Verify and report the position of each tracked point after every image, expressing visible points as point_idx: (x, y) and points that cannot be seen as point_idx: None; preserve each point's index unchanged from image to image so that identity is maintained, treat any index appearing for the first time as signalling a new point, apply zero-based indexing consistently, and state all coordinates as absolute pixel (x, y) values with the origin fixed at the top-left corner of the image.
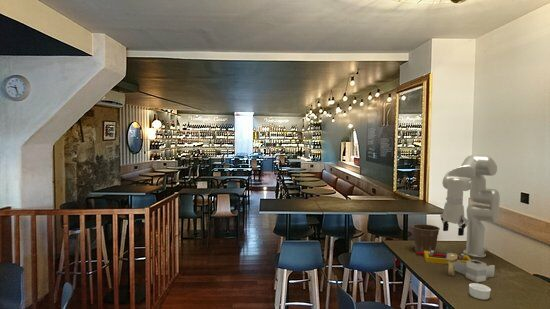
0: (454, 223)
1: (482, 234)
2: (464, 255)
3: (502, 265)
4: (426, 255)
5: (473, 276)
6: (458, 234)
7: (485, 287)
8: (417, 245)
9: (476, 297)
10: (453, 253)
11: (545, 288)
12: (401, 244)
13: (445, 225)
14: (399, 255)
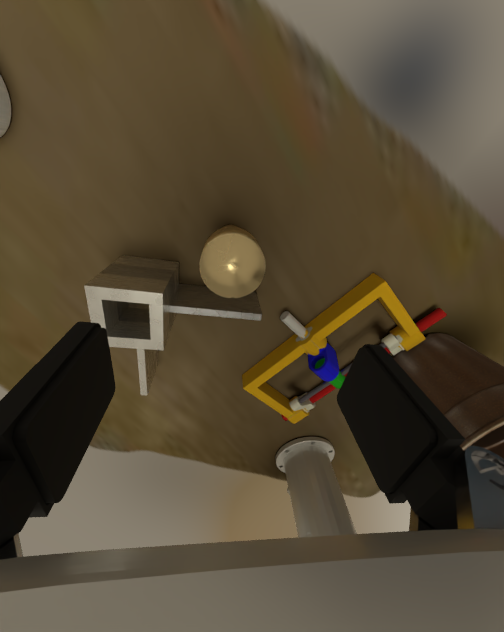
0: (41, 557)
1: (299, 537)
2: (298, 413)
3: (211, 447)
4: (395, 301)
5: (132, 263)
6: (84, 328)
7: None
8: (466, 348)
9: None
10: (239, 291)
11: None
12: None
13: (400, 427)
14: (497, 234)
